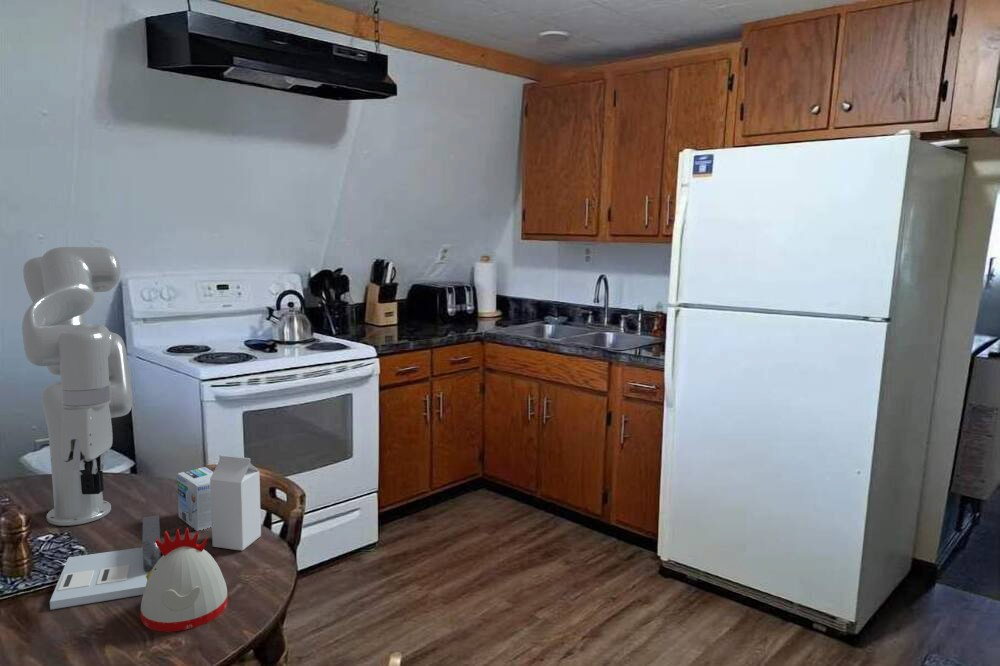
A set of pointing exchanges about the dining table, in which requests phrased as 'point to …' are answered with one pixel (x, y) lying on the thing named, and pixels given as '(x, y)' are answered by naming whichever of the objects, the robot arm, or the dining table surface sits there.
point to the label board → (100, 578)
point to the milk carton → (235, 503)
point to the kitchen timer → (183, 586)
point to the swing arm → (150, 542)
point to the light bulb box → (195, 498)
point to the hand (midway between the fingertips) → (92, 492)
